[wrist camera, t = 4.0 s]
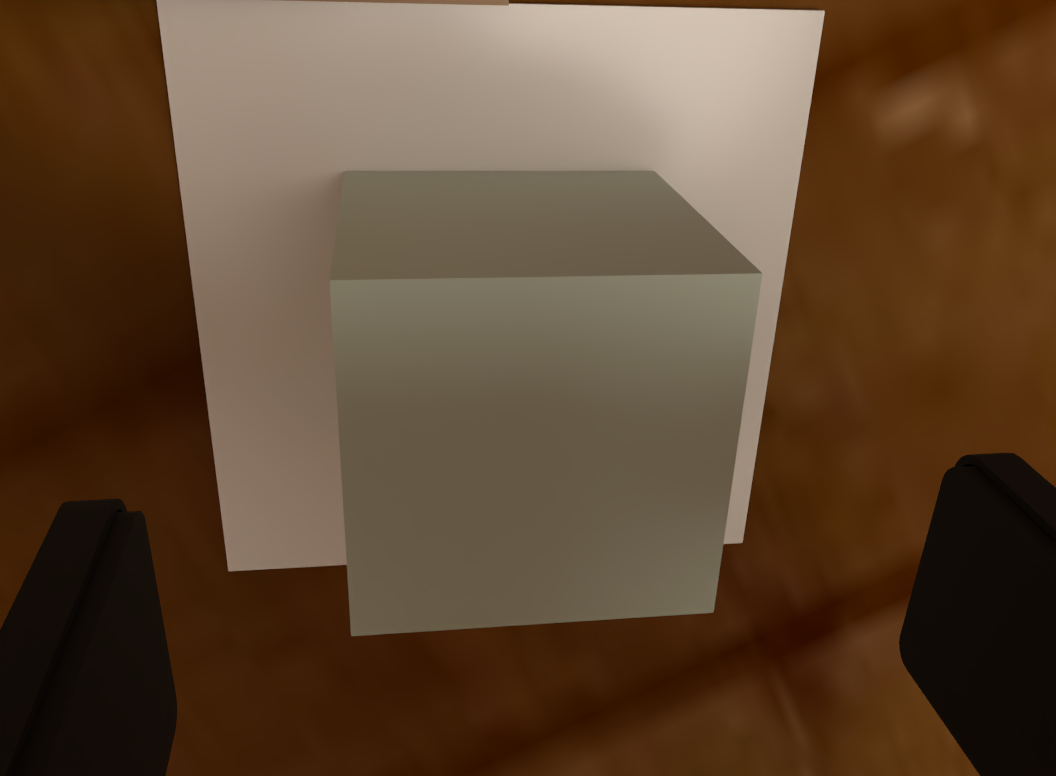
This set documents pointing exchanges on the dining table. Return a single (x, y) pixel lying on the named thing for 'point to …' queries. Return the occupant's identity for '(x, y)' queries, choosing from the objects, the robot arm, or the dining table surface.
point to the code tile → (441, 146)
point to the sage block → (534, 397)
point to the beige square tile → (426, 1)
